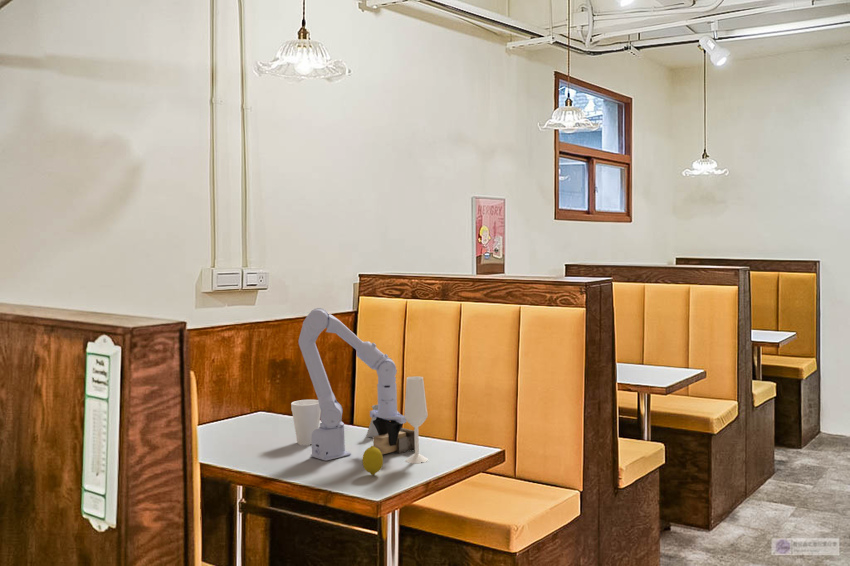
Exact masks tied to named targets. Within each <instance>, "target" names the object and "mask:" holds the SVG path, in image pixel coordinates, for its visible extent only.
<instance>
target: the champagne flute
mask: <svg viewBox="0 0 850 566" xmlns="http://www.w3.org/2000/svg"><path fill="white" fill-rule="evenodd" d="M426 398H427V397H426V391H425V383H424V376H417V375H416V376H407V377H406V385H405V400H404V413H403V414H404V415H403V416H404V417H405V419H406V423H408V424H410V425H411V427H413V429H414V437H415V451H414V454H412V455H411V456H410V457H408V458H406V460H405V462H406V463H408V462H409V464H422V463H421V462H424V463H427V462H428V461H429V460H428V459H429V458H427V457H425V455H423V454H421V453H420V443H419V440H420V439H419V427H421V426H422V425H423V423H425V421H426V420H427V418H428V409H427V407H428V406H427V399H426ZM427 460H428V461H427ZM426 461H427V462H426Z"/></svg>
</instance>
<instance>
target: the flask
mask: <svg viewBox="0 0 850 566" xmlns="http://www.w3.org/2000/svg"><path fill="white" fill-rule="evenodd" d="M371 408H372V410H378V404H373V405H372V406H371ZM373 420H376V417H371V420H370V422H369V427H368V429H367V432H366V437H369V438H373V437H375V436H379V435H378V432H377V429H376V427H375V425H374V424H373Z"/></svg>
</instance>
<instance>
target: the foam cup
mask: <svg viewBox="0 0 850 566" xmlns="http://www.w3.org/2000/svg"><path fill="white" fill-rule="evenodd" d="M290 405H291V407H290V409H291V412H292V419H293V425H294V431H295V437H296V442H297V445H300V446H310V445H309V444H312V432H313V431H314V430H316V429H318V428H319V427H320V423H321V419H320V415H321V410H320V407H319V402H318V399H301V400H295V401H292V402H291V403H290Z"/></svg>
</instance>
